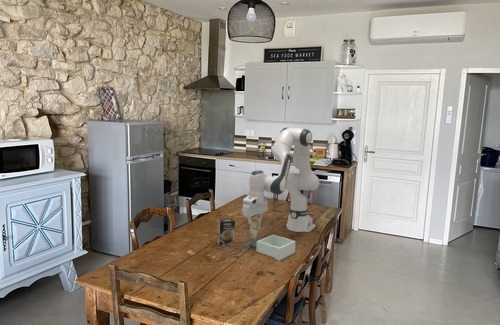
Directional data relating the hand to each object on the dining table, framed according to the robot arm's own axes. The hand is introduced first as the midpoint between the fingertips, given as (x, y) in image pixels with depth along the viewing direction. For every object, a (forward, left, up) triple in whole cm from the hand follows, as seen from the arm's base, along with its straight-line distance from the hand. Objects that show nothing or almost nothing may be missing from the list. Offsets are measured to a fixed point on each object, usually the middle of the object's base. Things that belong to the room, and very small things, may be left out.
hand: (255, 221), depth 222 cm
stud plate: (0, 0, -16) cm, 16 cm away
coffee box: (+11, -13, -16) cm, 23 cm away
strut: (0, 0, -15) cm, 15 cm away
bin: (-1, +15, -16) cm, 22 cm away
